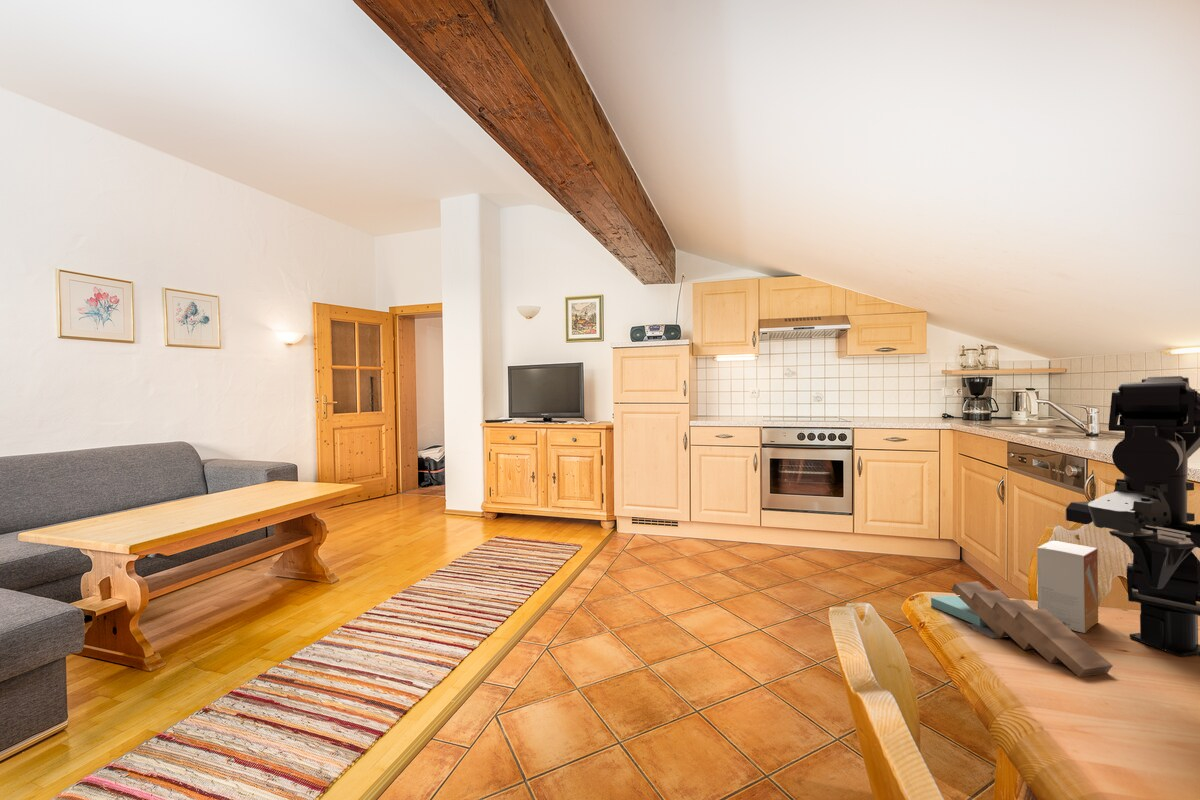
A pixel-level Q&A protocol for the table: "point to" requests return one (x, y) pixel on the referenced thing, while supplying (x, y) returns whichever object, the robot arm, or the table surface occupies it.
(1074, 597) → the small box
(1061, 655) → the domino
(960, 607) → the domino
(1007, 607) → the domino
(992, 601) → the domino
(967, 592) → the domino
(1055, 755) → the table surface
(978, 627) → the end pad
